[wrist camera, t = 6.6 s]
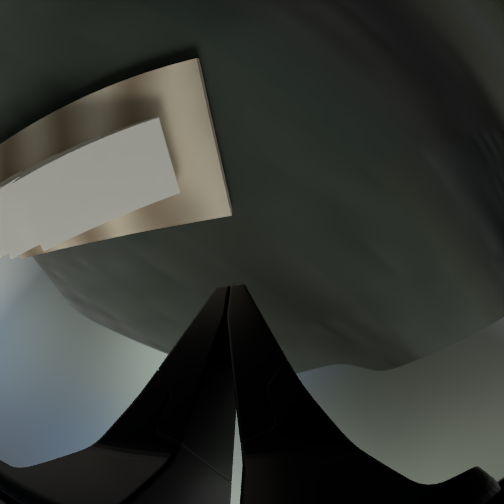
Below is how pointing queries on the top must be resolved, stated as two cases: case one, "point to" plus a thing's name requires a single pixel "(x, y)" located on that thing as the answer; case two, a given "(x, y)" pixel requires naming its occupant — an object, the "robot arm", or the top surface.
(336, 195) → the top surface
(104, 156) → the domino
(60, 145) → the beige flat rectangular board
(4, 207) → the domino
